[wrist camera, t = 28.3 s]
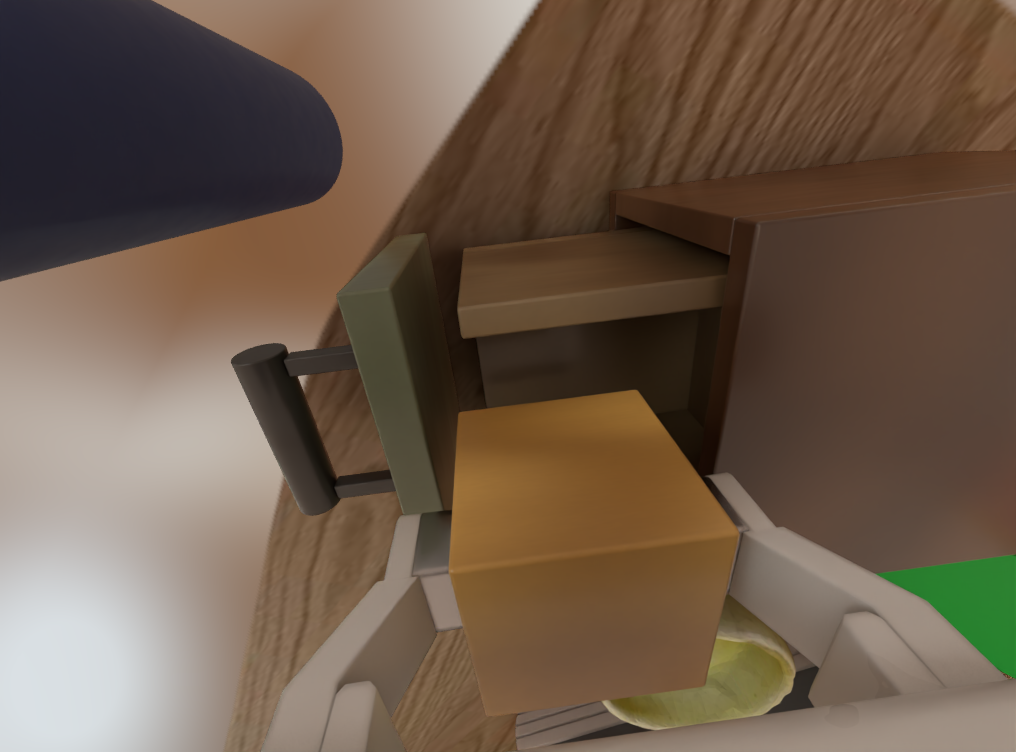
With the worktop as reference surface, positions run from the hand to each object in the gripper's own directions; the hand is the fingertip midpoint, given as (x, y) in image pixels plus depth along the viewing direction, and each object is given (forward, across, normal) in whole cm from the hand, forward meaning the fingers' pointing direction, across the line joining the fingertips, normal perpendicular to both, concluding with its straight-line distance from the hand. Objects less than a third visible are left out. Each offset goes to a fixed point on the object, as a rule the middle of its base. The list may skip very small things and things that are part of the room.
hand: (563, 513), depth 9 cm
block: (+2, 0, 0) cm, 2 cm away
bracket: (+5, -26, +19) cm, 32 cm away
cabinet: (+11, -11, 0) cm, 15 cm away
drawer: (+10, 0, 0) cm, 10 cm away
